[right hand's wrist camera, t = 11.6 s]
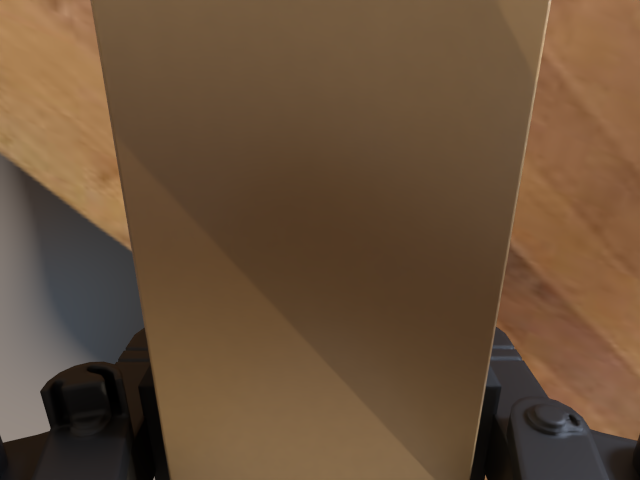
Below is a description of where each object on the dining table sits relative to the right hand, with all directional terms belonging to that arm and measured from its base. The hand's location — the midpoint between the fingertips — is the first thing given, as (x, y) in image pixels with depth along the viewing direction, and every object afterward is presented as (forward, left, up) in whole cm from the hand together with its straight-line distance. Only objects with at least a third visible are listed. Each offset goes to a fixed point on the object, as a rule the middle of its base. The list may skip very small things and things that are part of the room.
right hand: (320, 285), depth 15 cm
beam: (-15, -25, -1) cm, 29 cm away
